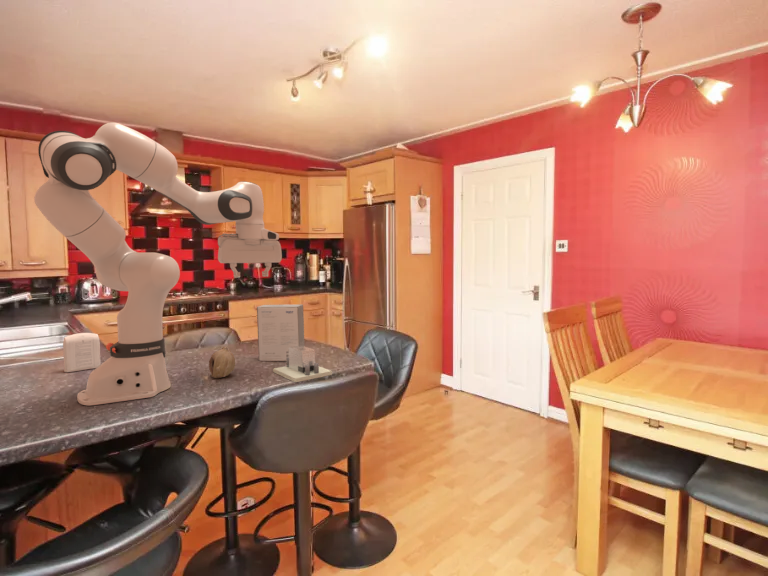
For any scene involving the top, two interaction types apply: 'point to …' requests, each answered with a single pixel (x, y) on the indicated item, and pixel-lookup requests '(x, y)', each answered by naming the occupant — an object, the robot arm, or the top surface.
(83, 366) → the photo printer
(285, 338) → the hard drive box
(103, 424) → the top surface
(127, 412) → the top surface
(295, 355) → the block
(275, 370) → the pin tray
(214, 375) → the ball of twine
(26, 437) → the top surface
